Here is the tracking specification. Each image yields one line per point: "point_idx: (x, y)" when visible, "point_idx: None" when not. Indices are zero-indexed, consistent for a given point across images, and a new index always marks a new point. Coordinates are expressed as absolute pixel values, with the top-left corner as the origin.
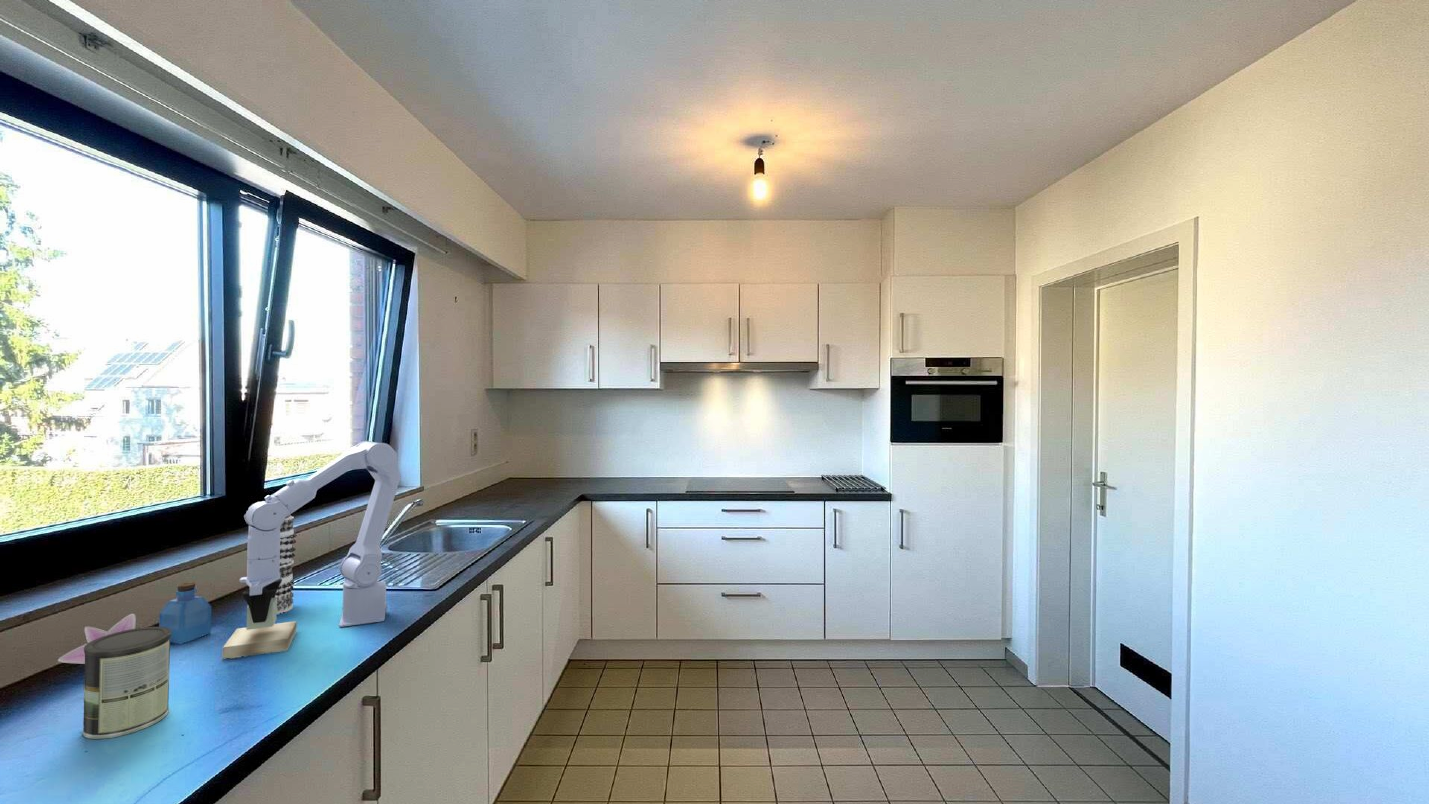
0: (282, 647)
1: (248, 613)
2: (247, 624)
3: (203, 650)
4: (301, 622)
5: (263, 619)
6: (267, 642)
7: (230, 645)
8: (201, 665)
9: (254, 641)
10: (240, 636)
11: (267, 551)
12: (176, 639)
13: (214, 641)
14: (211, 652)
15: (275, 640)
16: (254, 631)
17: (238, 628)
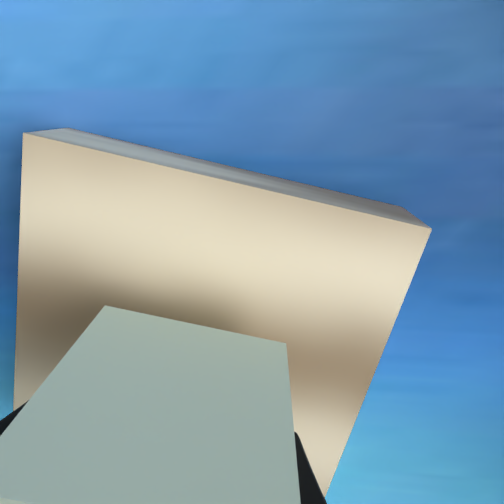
0: None
1: (23, 420)
2: (82, 336)
3: (326, 14)
4: (452, 487)
5: None
6: (19, 367)
7: (39, 181)
8: (20, 10)
9: (47, 313)
10: (213, 244)
11: None
12: None
13: (477, 81)
14: (247, 65)
15: (13, 405)
16: (269, 322)
17: (423, 238)
